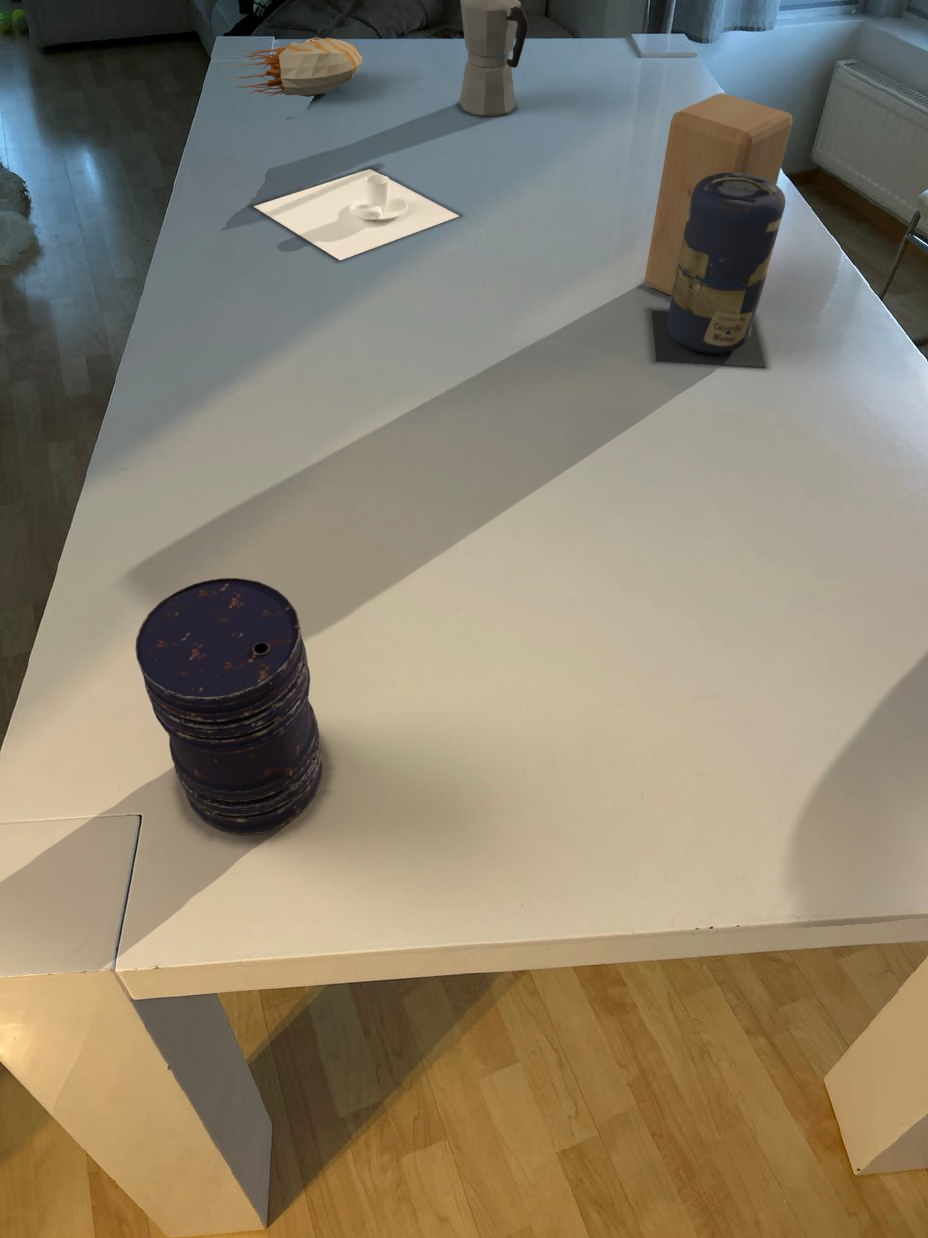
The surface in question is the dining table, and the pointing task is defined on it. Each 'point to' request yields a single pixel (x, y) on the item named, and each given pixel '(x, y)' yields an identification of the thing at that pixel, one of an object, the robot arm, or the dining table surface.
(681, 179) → the wooden block
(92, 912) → the dining table surface
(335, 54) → the nautilus shell
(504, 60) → the coffeepot
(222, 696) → the navy cylinder
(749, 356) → the mat
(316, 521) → the dining table surface
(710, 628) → the dining table surface
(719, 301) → the canister
